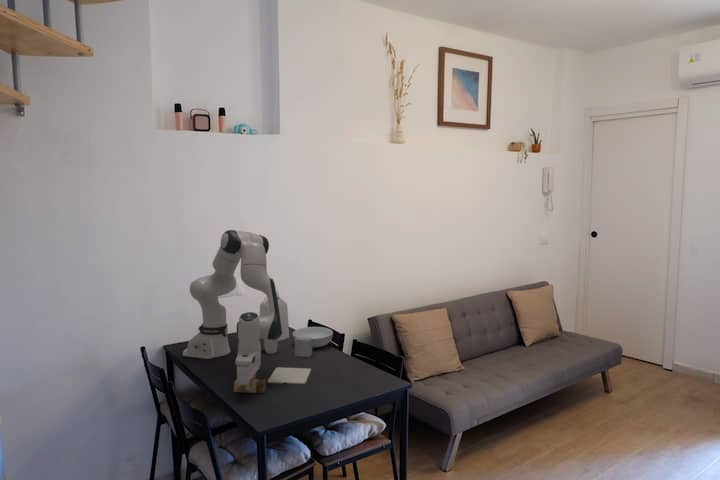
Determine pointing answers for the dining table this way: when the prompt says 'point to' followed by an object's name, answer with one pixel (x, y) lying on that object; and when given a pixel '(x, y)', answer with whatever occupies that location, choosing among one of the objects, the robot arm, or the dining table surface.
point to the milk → (283, 314)
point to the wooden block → (256, 386)
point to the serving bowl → (315, 335)
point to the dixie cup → (270, 346)
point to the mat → (289, 375)
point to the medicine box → (303, 347)
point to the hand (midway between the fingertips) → (250, 386)
